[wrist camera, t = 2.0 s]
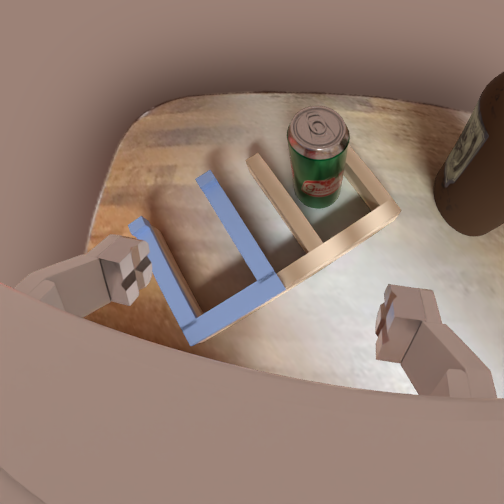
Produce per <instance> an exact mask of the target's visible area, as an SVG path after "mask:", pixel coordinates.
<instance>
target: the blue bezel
mask: <svg viewBox="0 0 504 504" xmlns="http://www.w3.org/2000/svg"><path fill="white" fill-rule="evenodd" d="M195 180H196V182H197V183H198V185H199V187H200V188H201V189H202V191H203V192H204V194H205V195H206V197H207V199H208V200H209V202H210V204H211V205H212V207H213V209H214V210H215V212H216V214H217V215H218V217H219V219H220V220H221V222H222V224H223V225H224V227H225V229H226V230H227V232H228V234H229V235H230V237H231V238H232V240H233V242H234V243H235V245H236V247H237V248H238V250H239V252H240V253H241V255H242V257H243V258H244V260H245V262H246V263H247V265H248V266H249V268H250V270H251V271H252V273H253V275H254V276H255V278H256V280H257V281H256V282H254V283H253V284H251V285H250V286H248V287H246V288H245V289H243V290H242V291H240V292H238V293H237V294H235V295H233V296H232V297H230V298H229V299H227V300H225V301H224V302H222V303H220V304H219V305H217V306H216V307H214V308H212V309H211V310H209V311H207V312H206V313H204V314H202V315H201V316H199V317H197V315H196V313H195V311H194V310H193V308H192V306H191V304H190V302H189V300H188V298H187V296H186V295H185V293H184V291H183V289H182V287H181V285H180V283H179V281H178V279H177V277H176V275H175V273H174V272H173V270H172V268H171V266H170V264H169V262H168V260H167V258H166V256H165V254H164V252H163V250H162V248H161V246H160V244H159V241H158V239H157V237H156V235H155V233H154V231H153V229H152V227H151V225H150V223H149V221H148V220H146V219H145V218H143V217H142V216H140V217H139V218H137V219H136V220H135V221H133V222H132V223H130V224H129V225H128V227H129V229H130V232H131V234H132V235H134V236H135V237H137V239H139V240H144V241H146V242H147V243H148V244H149V250H150V252H149V254H148V256H147V257H148V258H149V260H150V261H151V262H152V272H153V274H154V276H155V278H156V280H157V282H158V285H159V287H160V289H161V291H162V293H163V295H164V297H165V299H166V301H167V303H168V305H169V307H170V308H171V310H172V312H173V314H174V316H175V318H176V320H177V322H178V324H179V326H180V328H181V330H182V331H183V333H184V335H185V337H186V339H187V341H188V343H189V344H190V346H194V345H195V344H197V343H199V342H201V341H202V340H204V339H206V338H207V337H209V336H211V335H213V334H214V333H216V332H218V331H219V330H221V329H223V328H224V327H226V326H228V325H229V324H231V323H233V322H234V321H236V320H238V319H239V318H241V317H243V316H244V315H246V314H248V313H249V312H251V311H253V310H254V309H256V308H257V307H259V306H261V305H262V304H264V303H266V302H267V301H269V300H270V299H272V298H274V297H275V296H277V295H278V294H280V293H282V292H283V291H285V290H286V289H285V287H284V285H283V284H282V282H281V281H280V279H279V277H278V276H277V274H276V273H275V271H274V270H273V268H272V266H271V265H270V263H269V262H268V260H267V258H266V257H265V255H264V254H263V252H262V250H261V249H260V247H259V246H258V244H257V243H256V241H255V239H254V238H253V236H252V235H251V233H250V232H249V230H248V228H247V227H246V225H245V224H244V222H243V221H242V219H241V217H240V216H239V214H238V213H237V211H236V210H235V208H234V206H233V205H232V203H231V202H230V200H229V199H228V197H227V195H226V194H225V192H224V191H223V189H222V188H221V186H220V184H219V183H218V181H217V180H216V178H215V177H214V175H213V173H212V172H211V170H209V171H207V172H206V173H204V174H203V175H201V176H199V177H198V178H196V179H195Z"/></svg>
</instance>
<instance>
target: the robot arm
mask: <svg viewBox="0 0 504 504" xmlns="http://www.w3.org/2000/svg"><path fill="white" fill-rule="evenodd" d="M149 252H150V250H149V244H148V243H147V242H146V241H144V240H139V239H135V238H130V237H125V236H120V235H115V234H111V235H109V236H107V237H106V238H105V239H104V240H103V241H101V242H100V243H99V244H98V245H97V246H95V247H94V248H93V249H92V250H91V251H90V252H88V253H87V254H86V255H80V256H77V257H74V258H71V259H68V260H65V261H62V262H59V263H57V264H54V265H51V266H48V267H46V268H43V269H40V270H37V271H35V272H32V273H30V274H29V275H28V276H27V277H25V278H24V279H23V280H22V281H21V282H20V283H19V284H18V285H17V286H15V287H14V288H11V287H9V286H7V285H5V284H3V283H0V504H504V398H497V395H496V391H495V387H494V383H493V379H492V375H491V371H490V370H489V369H488V368H487V366H486V365H485V364H484V363H483V362H482V361H481V360H480V359H479V358H478V357H477V356H476V355H475V354H474V353H473V352H472V350H471V349H470V348H469V347H468V346H467V345H466V344H465V343H464V342H463V341H462V340H461V339H460V338H459V337H458V336H457V335H456V334H455V333H454V332H453V331H452V330H451V329H450V328H449V327H448V326H447V325H446V324H442V321H441V317H440V314H439V310H438V306H437V303H436V299H435V296H434V292H433V291H432V290H428V289H420V288H411V287H405V286H398V285H391V284H388V286H387V288H386V290H385V293H384V299H385V302H384V303H383V304H381V305H380V308H379V311H378V314H377V319H376V327H375V334H376V335H377V336H378V339H377V342H376V360H382V361H389V362H395V363H401V364H400V365H401V366H402V368H403V369H404V371H405V373H406V374H407V376H408V378H409V379H410V381H411V383H412V384H413V386H414V387H415V389H416V391H417V392H418V394H419V395H412V394H401V393H391V392H382V391H374V390H366V389H358V388H351V387H344V386H337V385H331V384H325V383H319V382H313V381H308V380H302V379H297V378H292V377H287V376H282V375H277V374H272V373H268V372H263V371H259V370H254V369H250V368H246V367H241V366H237V365H233V364H229V363H225V362H221V361H217V360H213V359H209V358H205V357H202V356H198V355H194V354H191V353H187V352H184V351H180V350H177V349H173V348H170V347H167V346H163V345H160V344H157V343H153V342H150V341H147V340H144V339H141V338H138V337H135V336H132V335H129V334H126V333H123V332H120V331H117V330H114V329H111V328H109V327H106V326H103V325H100V324H98V323H95V322H92V321H89V320H87V319H84V318H83V317H85V316H87V315H89V314H90V313H92V312H94V311H96V310H97V309H99V308H101V307H103V306H105V305H106V304H108V303H110V302H111V301H113V302H116V303H120V304H124V305H128V306H130V305H131V304H132V303H133V302H134V300H135V299H136V298H137V297H138V296H139V290H140V289H142V288H144V287H146V286H147V285H148V283H149V282H150V279H151V276H152V262H151V261H150V260H149V258H148V257H147V256H148V254H149Z"/></svg>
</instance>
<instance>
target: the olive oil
mask: <svg viewBox="0 0 504 504" xmlns="http://www.w3.org/2000/svg"><path fill="white" fill-rule="evenodd" d="M434 196H435V201H436V204H437V207H438V209H439V211H440V213H441V215H442V216H443V218H444V219H445V220H446V222H447V223H448V224H449V225H450V226H451V227H452V228H454V229H455V230H456V231H458V232H460V233H462V234H464V235H468V236H481V235H484V234H486V233H488V232H490V231H491V230H493V229H495V228H497V227H498V226H500V225H502V224H503V223H504V72H503V73H501V74H500V75H498V76H497V77H495V78H494V79H493V80H492V81H491V82H490V83H489V84H488V85H487V86H486V88H485V89H484V91H483V92H482V94H481V96H480V98H479V101H478V103H477V105H476V107H475V109H474V111H473V113H472V115H471V117H470V119H469V121H468V123H467V124H466V126H465V128H464V130H463V132H462V134H461V136H460V137H459V139H458V141H457V143H456V145H455V146H454V148H453V150H452V151H451V153H450V155H449V156H448V158H447V160H446V162H445V163H444V165H443V166H442V168H441V169H440V171H439V173H438V175H437V177H436V180H435V184H434Z"/></svg>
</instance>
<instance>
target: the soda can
mask: <svg viewBox="0 0 504 504" xmlns="http://www.w3.org/2000/svg"><path fill="white" fill-rule="evenodd" d="M349 139H350V137H349V130H348V128H347V126H346V124H345V122H344V120H343V119H342V117H341V116H340V115H339V114H338V113H337V112H336V111H334V110H332V109H330V108H327V107H323V106H311V107H307V108H304V109H302V110H301V111H299V112H298V113H297V114H296V115H295V116H294V118H293V120H292V122H291V123H290V125H289V127H288V130H287V140H288V147H289V153H290V160H291V168H292V175H293V182H294V190H295V194H296V196H297V198H298V199H299V200H300V201H301V202H302V203H303V204H304V205H306V206H308V207H311V208H317V209H319V208H325V207H328V206H330V205H332V204H333V203H334V202H335V201H336V200H337V198H338V197H339V194H340V190H341V185H342V180H343V174H344V168H345V163H346V157H347V151H348V145H349Z"/></svg>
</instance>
